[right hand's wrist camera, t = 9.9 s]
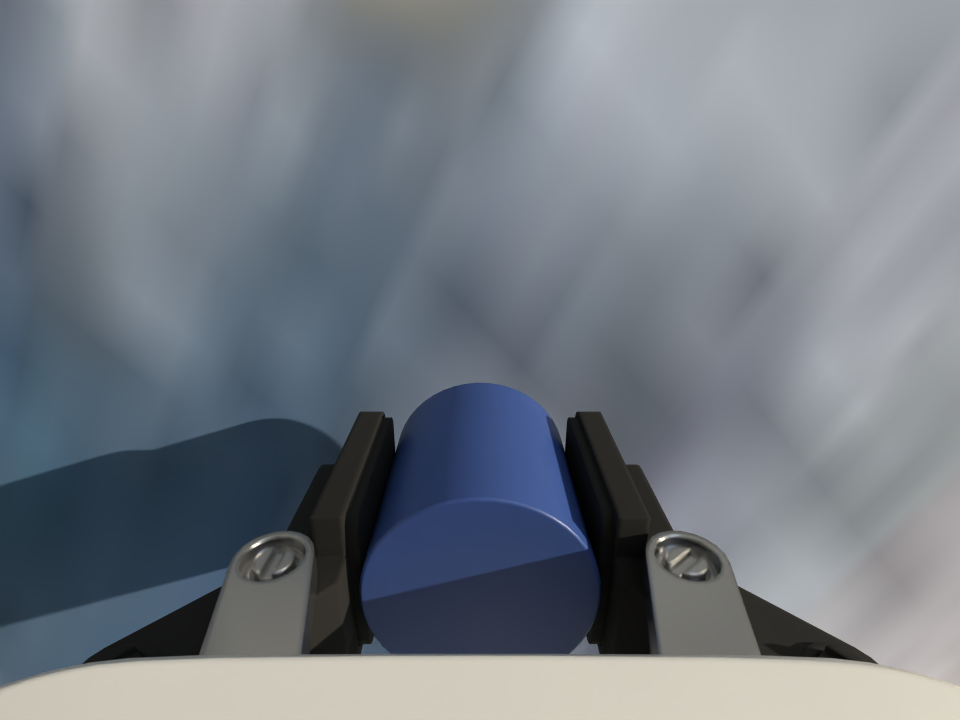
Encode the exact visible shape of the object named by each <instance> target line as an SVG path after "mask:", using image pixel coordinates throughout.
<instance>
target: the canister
mask: <svg viewBox="0 0 960 720" xmlns="http://www.w3.org/2000/svg"><path fill="white" fill-rule="evenodd" d="M359 593H360V603H361V607H362V611H363V615H364V617H365V619H366V622H367V624H368V626H369V628H370V630H371V631H372V633H373V634H374V636H375V637H376V639H377V640H378V641H379V642H380V643H381V644H382V646H383V647H384V648H385V649H387V650H388V651H389V652H390V653H391V654H570V653H571V652H572V651H573V650H574V649H575V648H576V647H577V646H578V645H579V644H580V643H581V642H582V641H583V639H584V638H585V636H586V635H587V634H588V632H589V631H590V629H591V627H592V625H593V623H594V621H595V619H596V616H597V613H598V609H599V606H600V599H601V579H600V574H599V569H598V566H597V562H596V559H595V555H594V552H593V548H592V545H591V541H590V538H589V535H588V531H587V528H586V524H585V521H584V517H583V514H582V510H581V507H580V503H579V500H578V496H577V493H576V489H575V486H574V483H573V479H572V476H571V472H570V469H569V465H568V462H567V458H566V455H565V451H564V448H563V444H562V441H561V437H560V435H559V432H558V429H557V427H556V425H555V423H554V422H553V420H552V418H551V417H550V416H549V414H548V413H547V412H546V411H545V410H544V409H543V408H542V407H541V406H540V405H539V404H538V403H537V402H535V401H534V400H533V399H532V398H530V397H528V396H527V395H525V394H523V393H521V392H519V391H517V390H514V389H512V388H509V387H505V386H502V385H497V384H490V383H471V384H463V385H459V386H454V387H452V388H449V389H446V390H443V391H441V392H439V393H437V394H435V395H433V396H432V397H430V398H429V399H427V400H426V401H425V402H423V403H422V404H421V405H420V406H419V407H418V408H417V409H416V410H415V411H414V412H413V414H412V415H411V416H410V417H409V419H408V421H407V422H406V424H405V426H404V428H403V430H402V433H401V436H400V439H399V443H398V446H397V450H396V453H395V457H394V460H393V464H392V467H391V471H390V474H389V478H388V481H387V485H386V488H385V491H384V495H383V498H382V502H381V505H380V509H379V512H378V516H377V519H376V523H375V526H374V530H373V533H372V537H371V540H370V544H369V547H368V551H367V554H366V558H365V561H364V565H363V569H362V572H361V576H360V585H359Z"/></svg>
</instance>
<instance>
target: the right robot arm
mask: <svg viewBox="0 0 960 720" xmlns="http://www.w3.org/2000/svg"><path fill="white" fill-rule="evenodd" d="M565 455H566V458H567V462H568V465H569V469H570V472H571V476H572V479H573V483H574V486H575V489H576V493H577V496H578V500H579V503H580V507H581V510H582V514H583V517H584V521H585V524H586V528H587V531H588V535H589V538H590V541H591V545H592V548H593V552H594V555H595V559H596V562H597V566H598V569H599V574H600V579H601V599H600V606H599V609H598V613H597V616H596V619H595V621H594V623H593V625H592V627H591V629H590V631H589V632H588V634H587V635H586V636H587V640H588V643H589V644H597V645H598V649H599V653H600V654H361V650H362V646H363V644H371V643H372V641H373V637H374V634H373V633H372V631H371V630H370V628H369V626H368V624H367V622H366V619H365V617H364V615H363V611H362V607H361V603H360V593H359V585H360V576H361V572H362V569H363V565H364V561H365V558H366V554H367V551H368V547H369V544H370V540H371V537H372V533H373V530H374V526H375V523H376V519H377V516H378V512H379V509H380V505H381V502H382V498H383V495H384V491H385V488H386V485H387V481H388V478H389V474H390V471H391V467H392V464H393V460H394V457H395V441H394V426H393V419H392V418H385V414H384V412H360V413H359V415H358V417H357V419H356V421H355V423H354V425H353V427H352V429H351V431H350V434H349V436H348V438H347V440H346V442H345V444H344V446H343V448H342V450H341V453H340V455H339V457H338V459H337V461H336V463H335V465H321V467H320V468H319V470H318V472H317V473H316V475H315V477H314V479H313V481H312V483H311V485H310V487H309V489H308V491H307V493H306V495H305V497H304V499H303V501H302V502H301V504H300V506H299V508H298V510H297V512H296V514H295V516H294V518H293V520H292V522H291V524H290V526H289V528H288V530H287V531H277V532H273V533H268V534H265V535H262V536H260V537H258V538H255V539H253V540H252V541H250V542H249V543H247V544H245V545H244V546H243V547H242V548H241V549H240V550H239V551H238V552H237V553H236V554H235V555H234V557H233V558H232V560H231V562H230V564H229V567H228V570H227V573H226V576H225V579H224V582H223V585H222V586H221V587H220V588H218V589H216V590H214V591H212V592H210V593H208V594H206V595H204V596H202V597H201V598H199V599H197V600H195V601H193V602H191V603H189V604H187V605H185V606H183V607H182V608H180V609H178V610H176V611H174V612H172V613H170V614H168V615H166V616H164V617H163V618H161V619H159V620H157V621H155V622H153V623H151V624H149V625H147V626H145V627H144V628H142V629H140V630H138V631H136V632H134V633H132V634H130V635H128V636H126V637H125V638H123V639H121V640H119V641H117V642H115V643H113V644H111V645H109V646H107V647H106V648H104V649H102V650H101V651H99V652H98V653H96V654H94V655H93V656H91V657H90V658H88V659H87V660H86V661H85V662H84V663H83V664H81V665H76V666H71V667H66V668H61V669H56V670H51V671H48V672H44V673H41V674H38V675H34V676H31V677H28V678H25V679H21V680H18V681H15V682H11V683H8V684H5V685H3V686H0V720H960V686H957V685H955V684H952V683H948V682H945V681H942V680H939V679H935V678H932V677H929V676H926V675H922V674H919V673H916V672H912V671H909V670H904V669H899V668H894V667H889V666H884V665H879V664H878V663H876V662H875V661H874V660H873V659H872V658H871V657H869V656H867V655H866V654H864V653H863V652H861V651H859V650H858V649H856V648H855V647H853V646H851V645H849V644H847V643H845V642H843V641H841V640H839V639H838V638H836V637H834V636H832V635H830V634H828V633H826V632H824V631H822V630H820V629H819V628H817V627H815V626H813V625H811V624H809V623H807V622H805V621H803V620H801V619H800V618H798V617H796V616H794V615H792V614H790V613H788V612H786V611H784V610H782V609H781V608H779V607H777V606H775V605H773V604H771V603H769V602H767V601H765V600H763V599H762V598H760V597H758V596H756V595H754V594H752V593H750V592H748V591H746V590H745V589H743V588H741V587H739V586H738V585H737V582H736V579H735V576H734V573H733V570H732V567H731V564H730V562H729V560H728V558H727V557H726V555H725V554H724V553H723V552H722V551H721V550H720V549H719V548H718V547H717V546H716V545H715V544H713V543H711V542H710V541H708V540H707V539H705V538H702V537H700V536H698V535H695V534H692V533H687V532H683V531H673V529H672V527H671V525H670V523H669V521H668V519H667V517H666V515H665V514H664V512H663V510H662V508H661V506H660V504H659V502H658V500H657V498H656V496H655V494H654V492H653V490H652V488H651V486H650V485H649V483H648V481H647V479H646V477H645V475H644V473H643V471H642V469H641V468H640V466H639V465H625V463H624V460H623V458H622V456H621V454H620V452H619V450H618V448H617V446H616V443H615V441H614V439H613V437H612V435H611V433H610V431H609V429H608V427H607V424H606V422H605V420H604V418H603V416H602V414H601V412H576V415H575V418H568V420H567V431H566V445H565Z"/></svg>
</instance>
